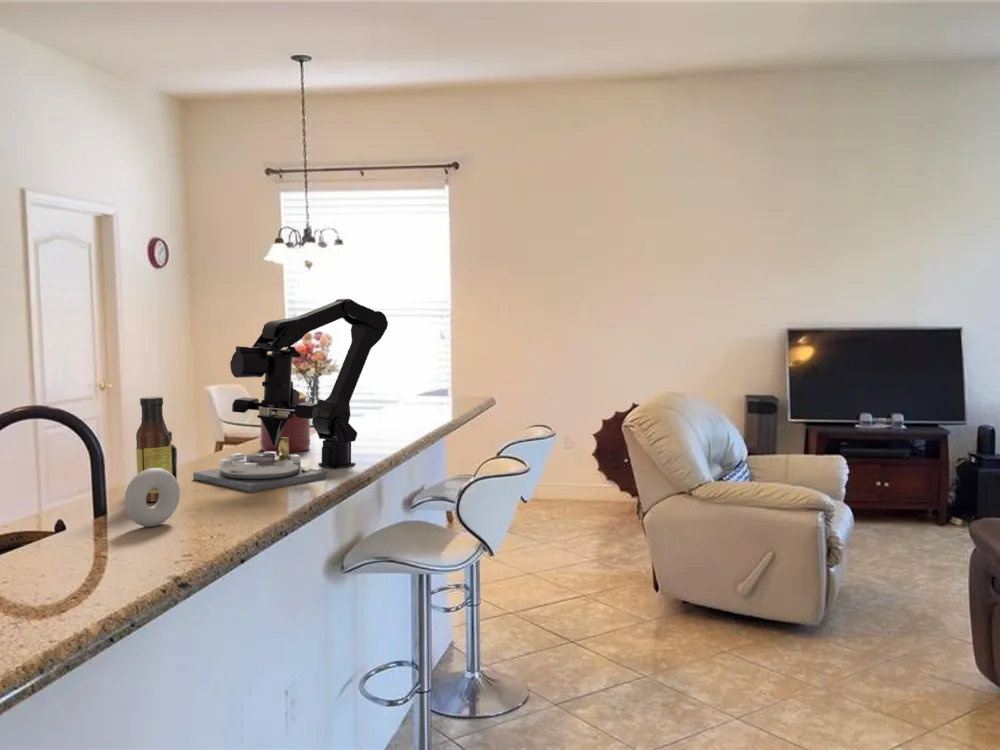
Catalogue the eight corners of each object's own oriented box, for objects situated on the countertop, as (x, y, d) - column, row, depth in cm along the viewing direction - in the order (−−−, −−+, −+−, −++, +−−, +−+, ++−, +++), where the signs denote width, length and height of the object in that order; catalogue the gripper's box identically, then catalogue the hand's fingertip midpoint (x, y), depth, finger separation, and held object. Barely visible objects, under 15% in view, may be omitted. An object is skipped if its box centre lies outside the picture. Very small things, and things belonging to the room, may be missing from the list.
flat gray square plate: (269, 467, 198) (269, 458, 198) (326, 478, 186) (326, 469, 186) (193, 479, 182) (193, 469, 182) (250, 492, 170) (250, 482, 170)
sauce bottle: (180, 498, 164) (179, 396, 163) (157, 504, 158) (156, 399, 157) (152, 495, 166) (151, 395, 165) (129, 501, 160) (128, 397, 159)
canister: (288, 444, 233) (288, 380, 232) (320, 449, 225) (320, 383, 224) (249, 449, 223) (249, 383, 221) (282, 455, 215) (282, 386, 214)
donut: (132, 534, 137) (132, 473, 137) (119, 530, 139) (119, 471, 139) (184, 521, 146) (184, 464, 145) (171, 519, 148) (171, 462, 147)
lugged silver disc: (299, 463, 194) (299, 435, 194) (301, 477, 178) (302, 447, 178) (221, 465, 190) (221, 436, 189) (217, 480, 174) (217, 448, 173)
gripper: (330, 377, 196) (326, 443, 197) (253, 371, 198) (250, 436, 199) (313, 381, 185) (309, 451, 186) (232, 374, 187) (229, 444, 188)
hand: (274, 445), depth 190 cm, fingers closed
